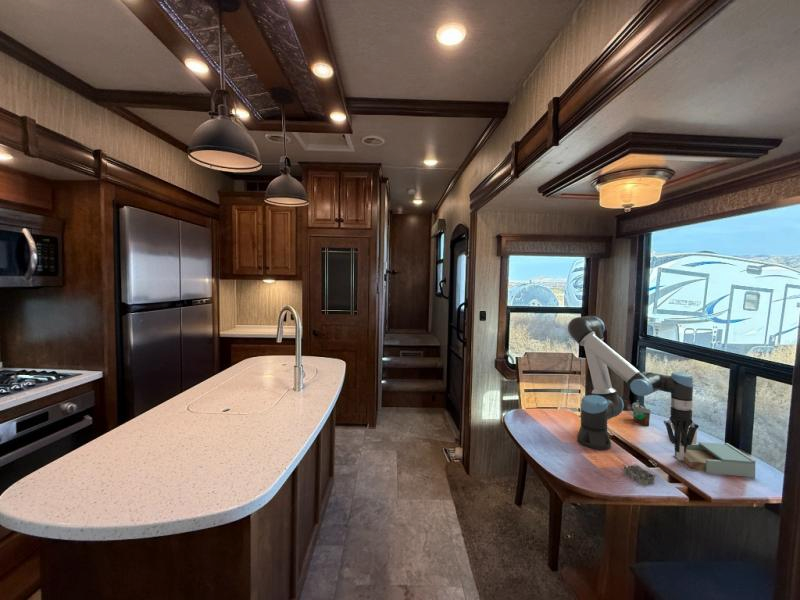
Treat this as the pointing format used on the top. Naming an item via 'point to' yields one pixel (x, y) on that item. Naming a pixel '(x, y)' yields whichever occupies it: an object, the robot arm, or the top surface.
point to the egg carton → (641, 472)
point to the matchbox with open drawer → (726, 459)
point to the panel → (697, 459)
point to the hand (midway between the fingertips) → (679, 458)
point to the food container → (641, 414)
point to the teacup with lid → (687, 433)
